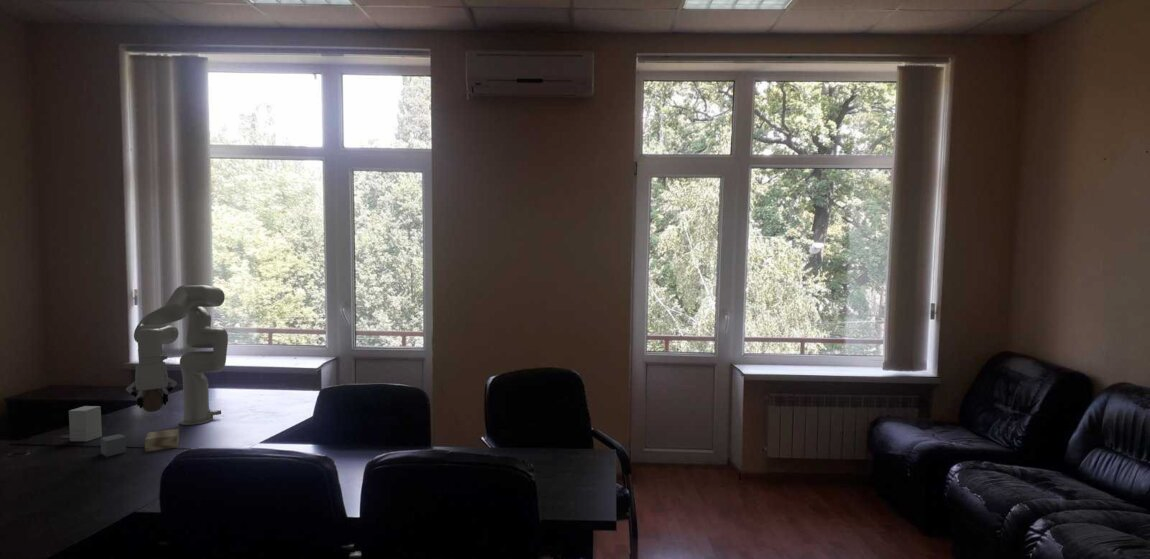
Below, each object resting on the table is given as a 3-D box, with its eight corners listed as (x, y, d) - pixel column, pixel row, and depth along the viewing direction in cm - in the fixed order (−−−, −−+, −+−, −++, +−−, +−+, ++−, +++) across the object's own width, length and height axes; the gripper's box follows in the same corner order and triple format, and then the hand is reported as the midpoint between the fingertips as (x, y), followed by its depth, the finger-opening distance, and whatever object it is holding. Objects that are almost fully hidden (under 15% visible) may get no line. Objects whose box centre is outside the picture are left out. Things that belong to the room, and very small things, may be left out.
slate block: (120, 449, 223) (119, 433, 223) (126, 452, 220) (125, 436, 219) (101, 453, 218) (100, 437, 218) (106, 456, 215) (106, 441, 214)
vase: (168, 408, 225) (167, 386, 225) (150, 414, 219) (148, 391, 218) (156, 407, 228) (155, 385, 227) (137, 411, 221) (136, 389, 221)
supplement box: (102, 436, 238) (101, 406, 238) (85, 442, 231) (84, 410, 230) (86, 435, 239) (85, 405, 239) (69, 441, 232) (67, 410, 231)
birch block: (179, 440, 234) (178, 428, 234) (176, 448, 225) (176, 435, 225) (148, 444, 229) (148, 432, 229) (145, 452, 220) (144, 439, 220)
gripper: (177, 355, 230) (179, 399, 232) (122, 361, 219) (124, 407, 221) (179, 359, 225) (181, 404, 226) (122, 365, 214) (124, 412, 215)
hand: (152, 405), depth 223 cm, fingers closed on vase, 6 cm apart
